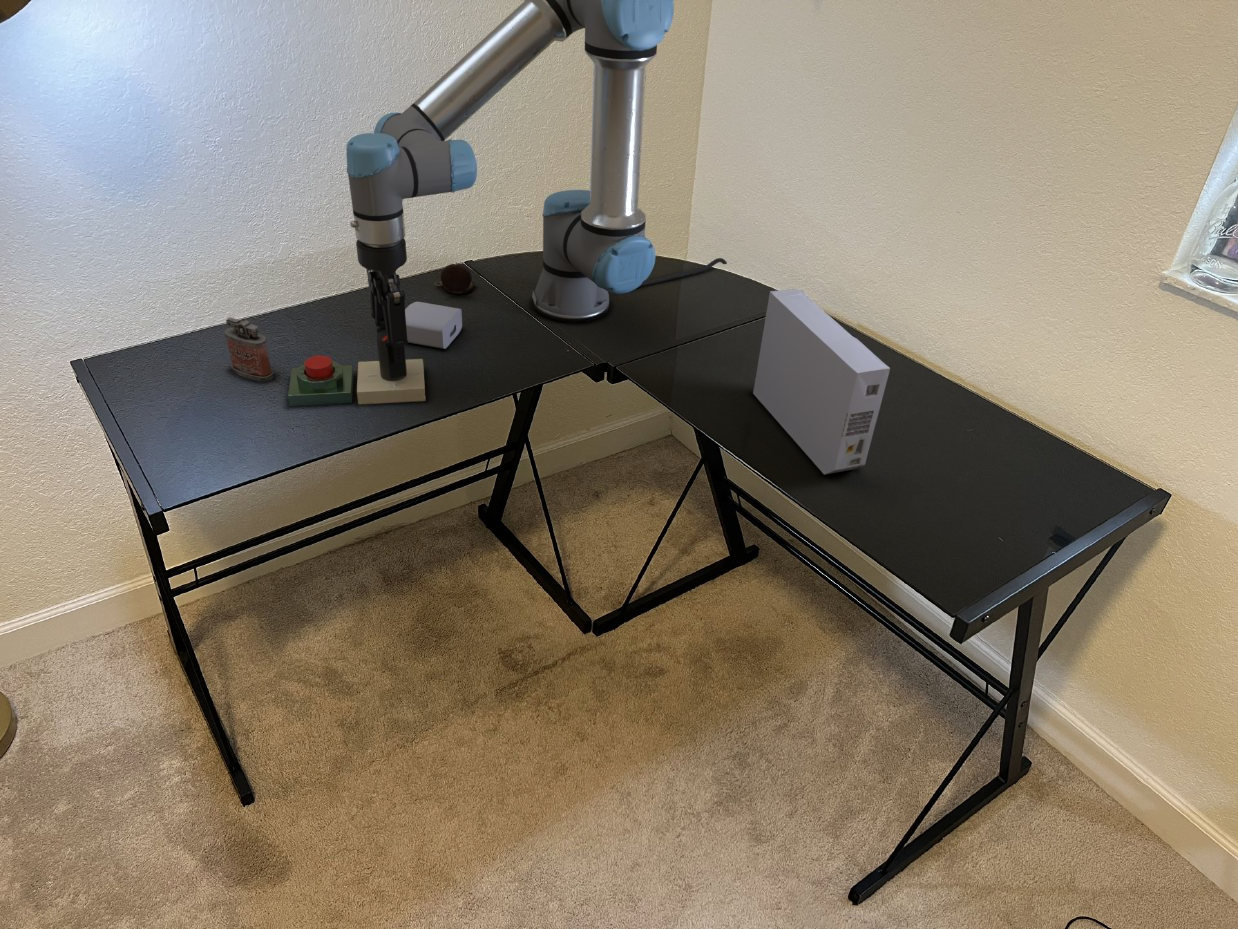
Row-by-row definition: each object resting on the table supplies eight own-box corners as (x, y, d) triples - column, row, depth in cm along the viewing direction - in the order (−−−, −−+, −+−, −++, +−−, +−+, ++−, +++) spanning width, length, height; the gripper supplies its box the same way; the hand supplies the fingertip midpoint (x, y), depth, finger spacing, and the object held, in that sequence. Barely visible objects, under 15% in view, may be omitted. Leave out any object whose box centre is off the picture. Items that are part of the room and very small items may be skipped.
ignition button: (334, 365, 160) (332, 354, 159) (332, 378, 157) (331, 368, 156) (307, 366, 159) (305, 356, 158) (305, 380, 156) (303, 369, 155)
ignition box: (353, 375, 165) (351, 355, 162) (352, 403, 158) (349, 382, 155) (293, 378, 163) (290, 358, 160) (289, 406, 156) (285, 386, 153)
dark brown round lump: (474, 282, 197) (473, 249, 193) (471, 299, 191) (470, 265, 187) (436, 280, 197) (434, 247, 192) (431, 297, 190) (429, 264, 186)
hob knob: (388, 365, 163) (384, 325, 159) (411, 370, 162) (408, 330, 158) (375, 377, 160) (371, 337, 155) (399, 383, 159) (395, 342, 154)
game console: (781, 389, 169) (800, 287, 157) (863, 477, 149) (891, 368, 137) (752, 393, 167) (769, 291, 156) (831, 483, 147) (857, 373, 135)
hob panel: (423, 370, 167) (422, 357, 166) (425, 401, 159) (424, 387, 158) (359, 374, 165) (358, 360, 164) (358, 404, 157) (356, 391, 156)
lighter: (277, 375, 163) (268, 323, 158) (264, 383, 161) (254, 331, 155) (241, 363, 166) (231, 311, 160) (227, 371, 163) (216, 319, 158)
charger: (389, 316, 183) (462, 328, 181) (368, 337, 176) (443, 351, 173) (387, 293, 180) (461, 306, 178) (365, 314, 173) (442, 328, 170)
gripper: (341, 221, 151) (357, 349, 165) (372, 264, 139) (386, 398, 153) (387, 215, 154) (399, 341, 168) (422, 257, 142) (431, 389, 156)
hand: (393, 368), depth 160 cm, fingers closed on hob knob, 4 cm apart
